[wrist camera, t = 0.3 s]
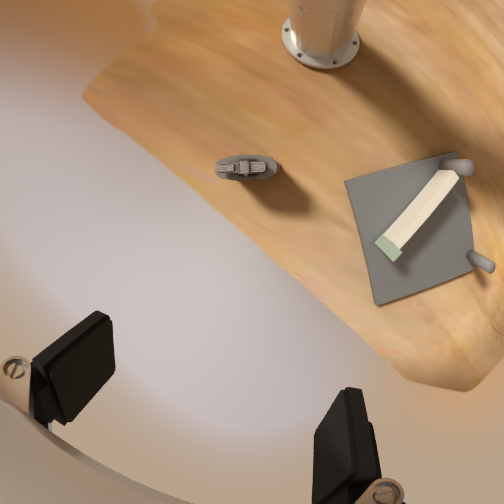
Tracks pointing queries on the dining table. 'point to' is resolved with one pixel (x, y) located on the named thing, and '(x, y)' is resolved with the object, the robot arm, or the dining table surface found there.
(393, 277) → the base
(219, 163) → the lighter
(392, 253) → the pale rectangular block
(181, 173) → the dining table surface
